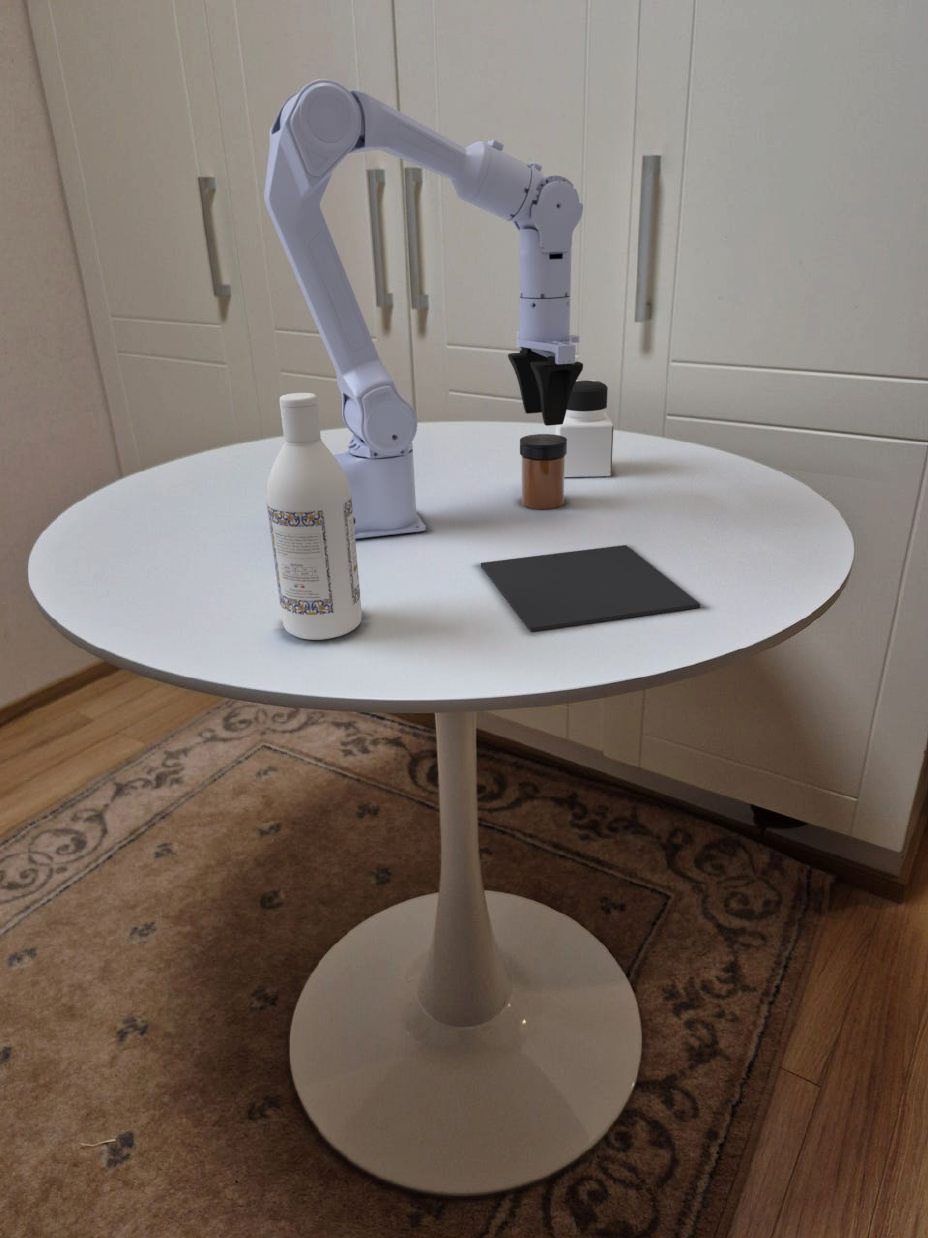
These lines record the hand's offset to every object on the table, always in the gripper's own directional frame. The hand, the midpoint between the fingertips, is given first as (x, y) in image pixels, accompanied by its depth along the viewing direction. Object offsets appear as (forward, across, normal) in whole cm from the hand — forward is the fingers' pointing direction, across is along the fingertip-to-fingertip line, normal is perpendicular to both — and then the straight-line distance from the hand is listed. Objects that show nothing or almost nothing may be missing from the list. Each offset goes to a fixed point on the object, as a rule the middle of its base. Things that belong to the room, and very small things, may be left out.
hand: (543, 418), depth 102 cm
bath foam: (+11, -27, +30) cm, 42 cm away
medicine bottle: (+11, +12, -10) cm, 19 cm away
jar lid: (+3, 0, 0) cm, 3 cm away
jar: (+10, 0, 0) cm, 10 cm away
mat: (+10, -26, +5) cm, 28 cm away
